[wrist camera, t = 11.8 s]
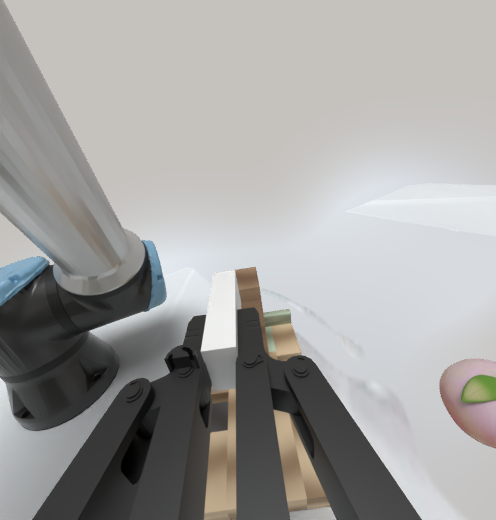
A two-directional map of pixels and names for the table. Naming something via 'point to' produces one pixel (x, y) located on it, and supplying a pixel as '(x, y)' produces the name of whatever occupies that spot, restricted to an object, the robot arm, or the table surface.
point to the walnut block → (251, 295)
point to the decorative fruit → (472, 397)
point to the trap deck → (290, 445)
